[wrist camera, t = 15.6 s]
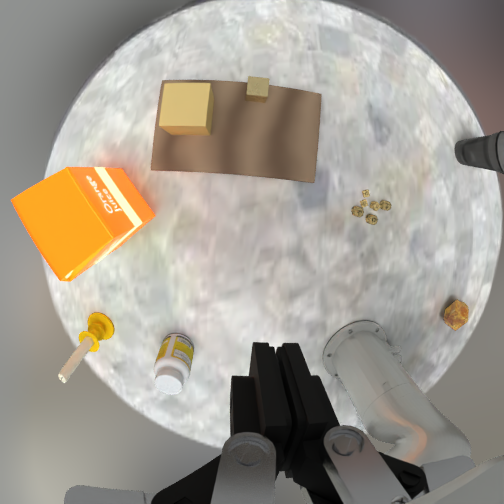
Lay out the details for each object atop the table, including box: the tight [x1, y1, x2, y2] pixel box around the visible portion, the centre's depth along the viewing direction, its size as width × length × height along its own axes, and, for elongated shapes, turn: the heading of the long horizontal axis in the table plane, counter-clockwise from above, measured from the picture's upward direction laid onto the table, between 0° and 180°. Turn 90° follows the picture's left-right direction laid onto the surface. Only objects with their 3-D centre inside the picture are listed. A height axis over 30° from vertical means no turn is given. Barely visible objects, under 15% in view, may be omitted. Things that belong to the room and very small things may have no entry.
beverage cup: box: [455, 131, 504, 174], centre depth 27 cm, size 7×7×20 cm
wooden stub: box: [245, 76, 269, 103], centre depth 30 cm, size 3×3×3 cm
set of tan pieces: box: [352, 190, 391, 225], centre depth 38 cm, size 5×5×2 cm
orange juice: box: [11, 167, 155, 281], centre depth 26 cm, size 8×9×20 cm
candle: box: [58, 313, 114, 383], centre depth 33 cm, size 5×5×16 cm
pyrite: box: [444, 300, 469, 331], centre depth 43 cm, size 5×7×4 cm
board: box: [151, 80, 322, 183], centre depth 33 cm, size 22×13×1 cm, turn 85°
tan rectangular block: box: [159, 83, 214, 136], centre depth 29 cm, size 5×5×7 cm
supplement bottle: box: [154, 334, 194, 395], centre depth 37 cm, size 5×5×10 cm
